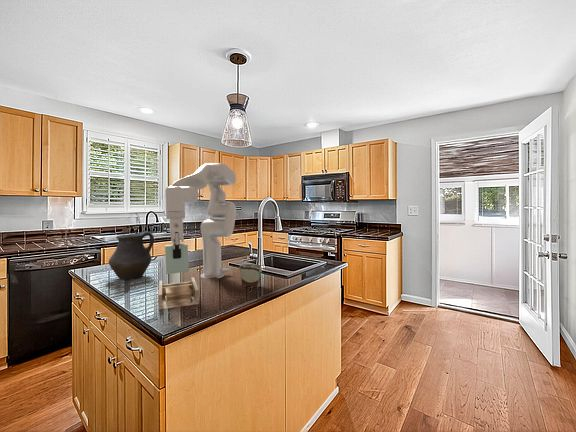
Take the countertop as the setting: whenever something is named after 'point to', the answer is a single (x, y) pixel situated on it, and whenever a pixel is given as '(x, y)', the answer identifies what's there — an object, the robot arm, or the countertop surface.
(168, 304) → the offcut
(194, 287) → the rack
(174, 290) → the offcut
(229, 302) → the countertop surface
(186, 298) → the offcut
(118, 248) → the pitcher
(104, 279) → the countertop surface
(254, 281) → the food container
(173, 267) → the pale green slab
